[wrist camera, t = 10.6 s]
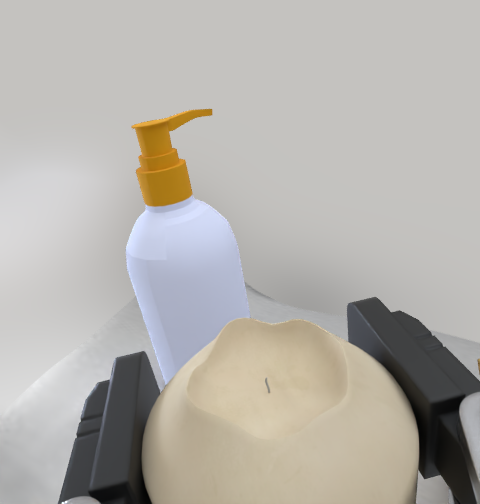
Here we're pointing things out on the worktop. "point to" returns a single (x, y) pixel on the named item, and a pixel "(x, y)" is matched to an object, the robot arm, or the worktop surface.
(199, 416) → the candle
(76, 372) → the worktop surface
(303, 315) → the worktop surface
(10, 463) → the worktop surface
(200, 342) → the soap bottle
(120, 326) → the worktop surface
